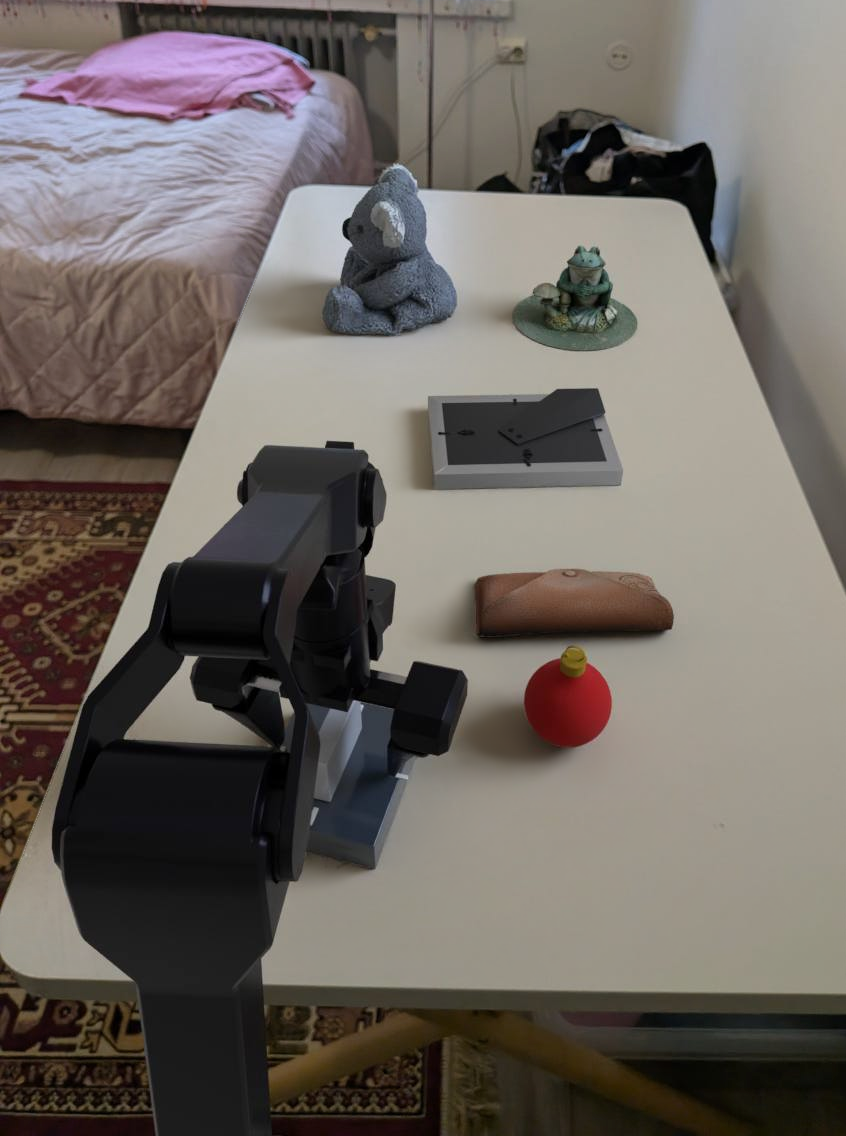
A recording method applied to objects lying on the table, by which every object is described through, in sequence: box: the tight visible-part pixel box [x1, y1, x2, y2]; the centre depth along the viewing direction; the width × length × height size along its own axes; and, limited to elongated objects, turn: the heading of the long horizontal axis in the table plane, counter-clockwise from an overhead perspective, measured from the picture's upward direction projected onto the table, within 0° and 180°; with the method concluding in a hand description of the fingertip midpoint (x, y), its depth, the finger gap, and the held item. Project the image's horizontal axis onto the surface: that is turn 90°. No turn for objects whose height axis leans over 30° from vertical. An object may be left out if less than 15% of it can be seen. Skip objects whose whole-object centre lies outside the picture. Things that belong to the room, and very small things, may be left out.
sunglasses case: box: [474, 568, 675, 638], centre depth 89 cm, size 18×7×7 cm, turn 95°
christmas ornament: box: [523, 644, 613, 748], centre depth 76 cm, size 7×7×10 cm
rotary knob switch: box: [267, 702, 417, 870], centre depth 74 cm, size 12×11×3 cm
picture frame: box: [427, 387, 624, 490], centre depth 111 cm, size 16×3×21 cm
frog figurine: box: [512, 245, 638, 352], centre depth 133 cm, size 18×18×12 cm
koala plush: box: [321, 162, 458, 337], centre depth 130 cm, size 17×18×20 cm
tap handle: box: [314, 700, 362, 802], centre depth 71 cm, size 7×2×5 cm, turn 166°
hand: (336, 757), depth 72 cm, fingers open, 9 cm apart
